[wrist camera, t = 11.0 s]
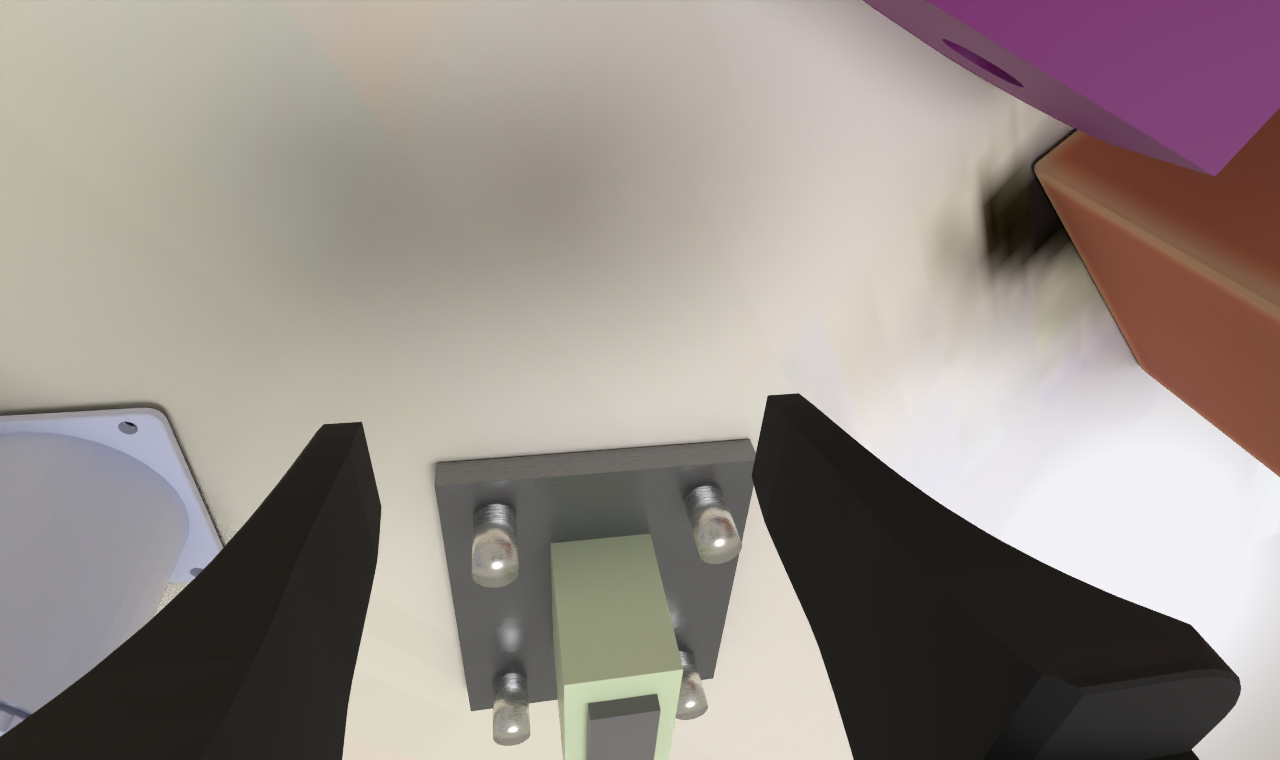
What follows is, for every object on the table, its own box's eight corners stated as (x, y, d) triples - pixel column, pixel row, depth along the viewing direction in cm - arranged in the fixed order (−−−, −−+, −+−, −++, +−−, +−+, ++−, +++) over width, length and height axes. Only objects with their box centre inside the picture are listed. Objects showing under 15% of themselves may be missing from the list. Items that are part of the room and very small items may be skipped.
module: (553, 646, 32) (566, 802, 27) (550, 543, 28) (565, 702, 23) (640, 636, 33) (670, 785, 27) (650, 533, 28) (687, 686, 23)
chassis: (471, 687, 35) (470, 764, 32) (436, 463, 26) (430, 540, 23) (707, 656, 37) (726, 726, 34) (749, 439, 28) (780, 507, 25)
